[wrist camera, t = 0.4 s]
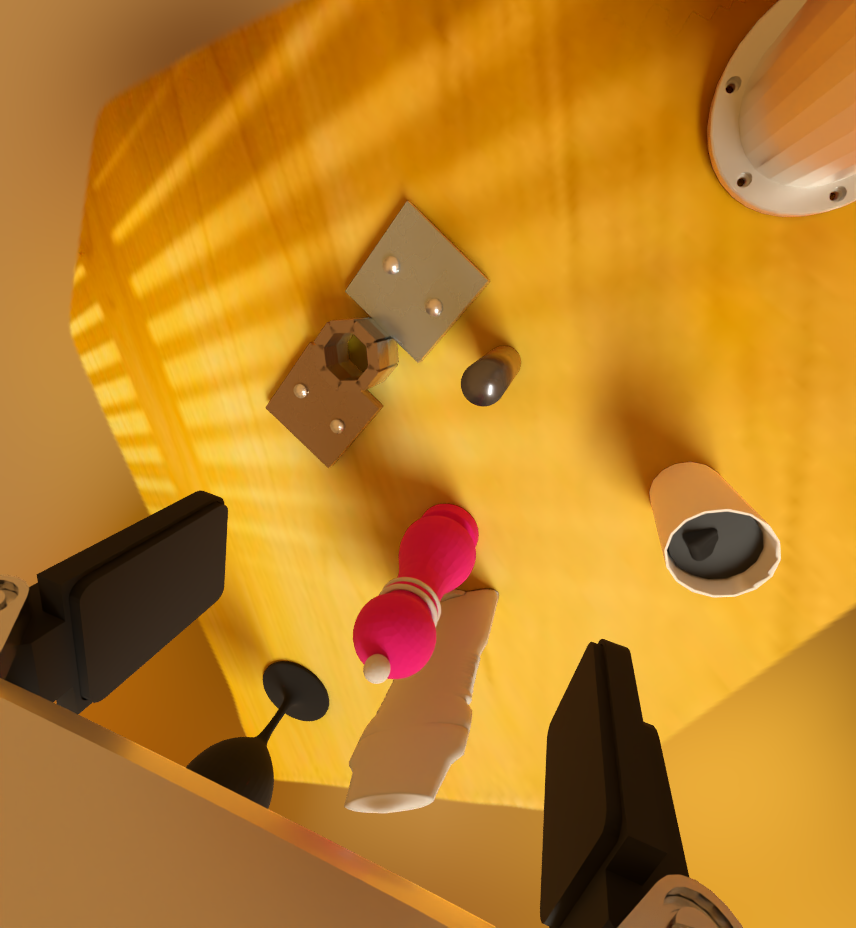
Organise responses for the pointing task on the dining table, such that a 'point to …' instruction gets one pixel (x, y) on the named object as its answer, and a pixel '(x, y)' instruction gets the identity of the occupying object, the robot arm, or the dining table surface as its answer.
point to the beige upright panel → (424, 714)
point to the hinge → (377, 333)
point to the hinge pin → (490, 376)
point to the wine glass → (263, 734)
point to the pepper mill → (416, 594)
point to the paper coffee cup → (711, 532)
